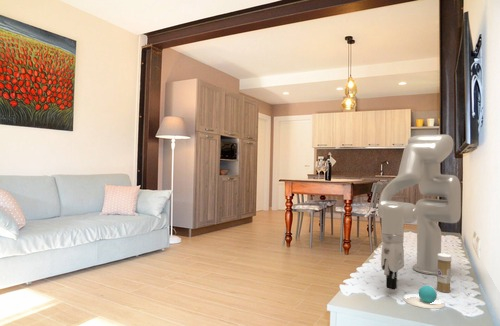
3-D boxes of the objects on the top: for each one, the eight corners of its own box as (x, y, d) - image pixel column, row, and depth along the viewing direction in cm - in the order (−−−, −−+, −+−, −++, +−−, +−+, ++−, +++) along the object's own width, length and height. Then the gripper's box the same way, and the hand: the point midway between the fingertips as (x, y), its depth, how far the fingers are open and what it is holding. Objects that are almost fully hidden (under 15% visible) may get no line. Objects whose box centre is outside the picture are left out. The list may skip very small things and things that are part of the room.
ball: (431, 303, 122) (417, 291, 124) (441, 291, 120) (426, 280, 123) (428, 308, 117) (413, 296, 120) (438, 296, 115) (423, 284, 118)
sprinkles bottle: (434, 289, 132) (434, 253, 132) (441, 287, 134) (442, 252, 134) (445, 293, 128) (446, 256, 128) (453, 291, 130) (454, 255, 130)
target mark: (410, 291, 130) (410, 290, 130) (450, 301, 121) (450, 300, 121) (396, 300, 121) (396, 300, 121) (438, 312, 112) (438, 311, 112)
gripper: (394, 243, 120) (393, 296, 120) (410, 236, 131) (409, 286, 131) (373, 239, 126) (372, 291, 126) (390, 233, 136) (389, 281, 136)
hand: (391, 288), depth 128 cm, fingers closed
